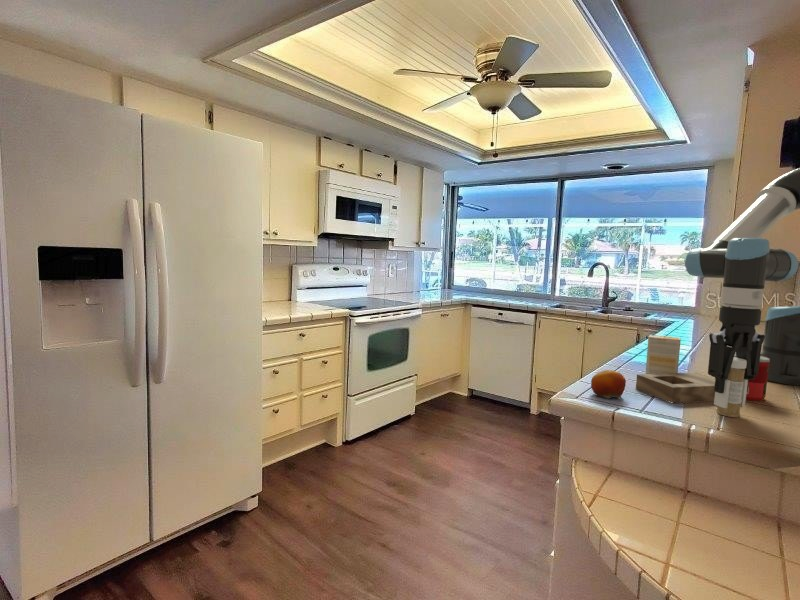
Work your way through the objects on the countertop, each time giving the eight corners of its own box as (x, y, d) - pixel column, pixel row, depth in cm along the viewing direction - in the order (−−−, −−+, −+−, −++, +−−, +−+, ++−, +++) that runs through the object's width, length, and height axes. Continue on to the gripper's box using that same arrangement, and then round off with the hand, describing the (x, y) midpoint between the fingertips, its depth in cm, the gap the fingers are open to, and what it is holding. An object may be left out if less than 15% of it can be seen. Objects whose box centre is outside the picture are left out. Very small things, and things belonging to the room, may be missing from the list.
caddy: (694, 386, 127) (696, 372, 126) (735, 399, 115) (736, 384, 115) (635, 388, 122) (636, 374, 122) (671, 403, 110) (673, 387, 110)
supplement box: (677, 380, 132) (681, 337, 131) (676, 384, 128) (681, 339, 127) (645, 375, 137) (649, 333, 135) (644, 379, 133) (648, 336, 131)
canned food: (771, 402, 114) (776, 360, 113) (736, 399, 116) (741, 358, 114) (754, 393, 121) (759, 354, 120) (721, 390, 123) (726, 352, 122)
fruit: (611, 398, 107) (601, 367, 111) (591, 405, 114) (582, 375, 118) (638, 397, 110) (628, 366, 113) (617, 404, 116) (607, 374, 120)
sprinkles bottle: (717, 409, 107) (723, 355, 105) (741, 414, 104) (748, 358, 102) (714, 414, 103) (720, 357, 102) (739, 419, 100) (745, 361, 99)
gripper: (725, 308, 95) (713, 413, 98) (787, 308, 99) (774, 409, 102) (695, 304, 102) (684, 402, 105) (754, 304, 106) (742, 399, 109)
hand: (729, 405), depth 103 cm, fingers closed on sprinkles bottle, 4 cm apart
